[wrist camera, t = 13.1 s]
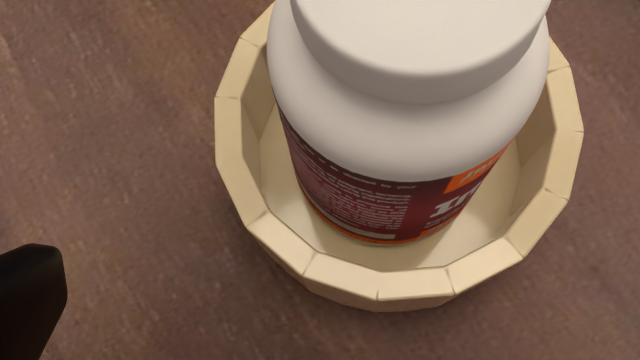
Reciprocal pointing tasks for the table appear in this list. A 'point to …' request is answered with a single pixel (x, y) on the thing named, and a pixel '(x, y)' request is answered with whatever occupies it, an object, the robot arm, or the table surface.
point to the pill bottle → (402, 104)
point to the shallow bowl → (404, 260)
